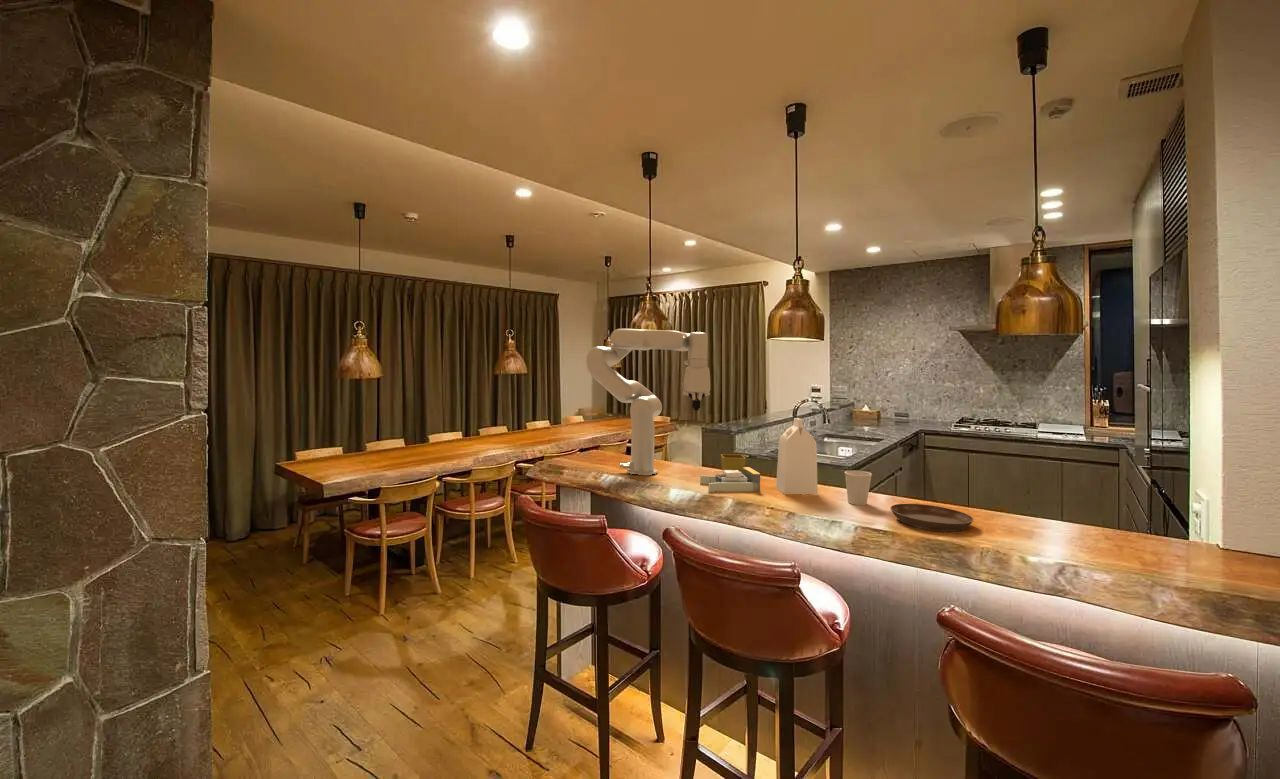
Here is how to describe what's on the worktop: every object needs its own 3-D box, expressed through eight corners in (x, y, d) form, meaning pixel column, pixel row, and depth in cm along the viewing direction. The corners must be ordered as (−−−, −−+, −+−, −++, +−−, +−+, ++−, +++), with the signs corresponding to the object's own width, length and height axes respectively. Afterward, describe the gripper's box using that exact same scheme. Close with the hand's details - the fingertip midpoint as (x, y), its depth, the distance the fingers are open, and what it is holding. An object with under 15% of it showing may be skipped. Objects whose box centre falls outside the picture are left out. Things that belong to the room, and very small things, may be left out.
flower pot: (745, 480, 205) (746, 457, 205) (722, 480, 206) (723, 457, 205) (741, 476, 214) (742, 454, 214) (719, 476, 214) (720, 454, 214)
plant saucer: (979, 523, 151) (979, 512, 151) (964, 539, 135) (965, 526, 135) (901, 510, 164) (902, 499, 164) (880, 523, 149) (880, 511, 149)
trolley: (719, 489, 188) (719, 473, 188) (715, 485, 195) (715, 469, 195) (747, 489, 189) (747, 473, 189) (742, 485, 196) (742, 469, 196)
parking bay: (708, 492, 184) (709, 474, 184) (699, 483, 199) (700, 466, 199) (760, 492, 186) (761, 474, 185) (747, 483, 201) (748, 466, 201)
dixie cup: (854, 506, 167) (855, 475, 166) (838, 500, 175) (839, 470, 175) (877, 505, 169) (878, 474, 169) (859, 499, 177) (860, 470, 177)
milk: (817, 495, 182) (819, 420, 182) (784, 494, 183) (786, 419, 182) (807, 488, 194) (809, 417, 194) (776, 487, 195) (777, 417, 194)
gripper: (680, 363, 204) (678, 410, 204) (718, 364, 205) (716, 411, 205) (677, 363, 211) (675, 409, 212) (713, 364, 212) (712, 410, 213)
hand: (696, 410), depth 208 cm, fingers closed
